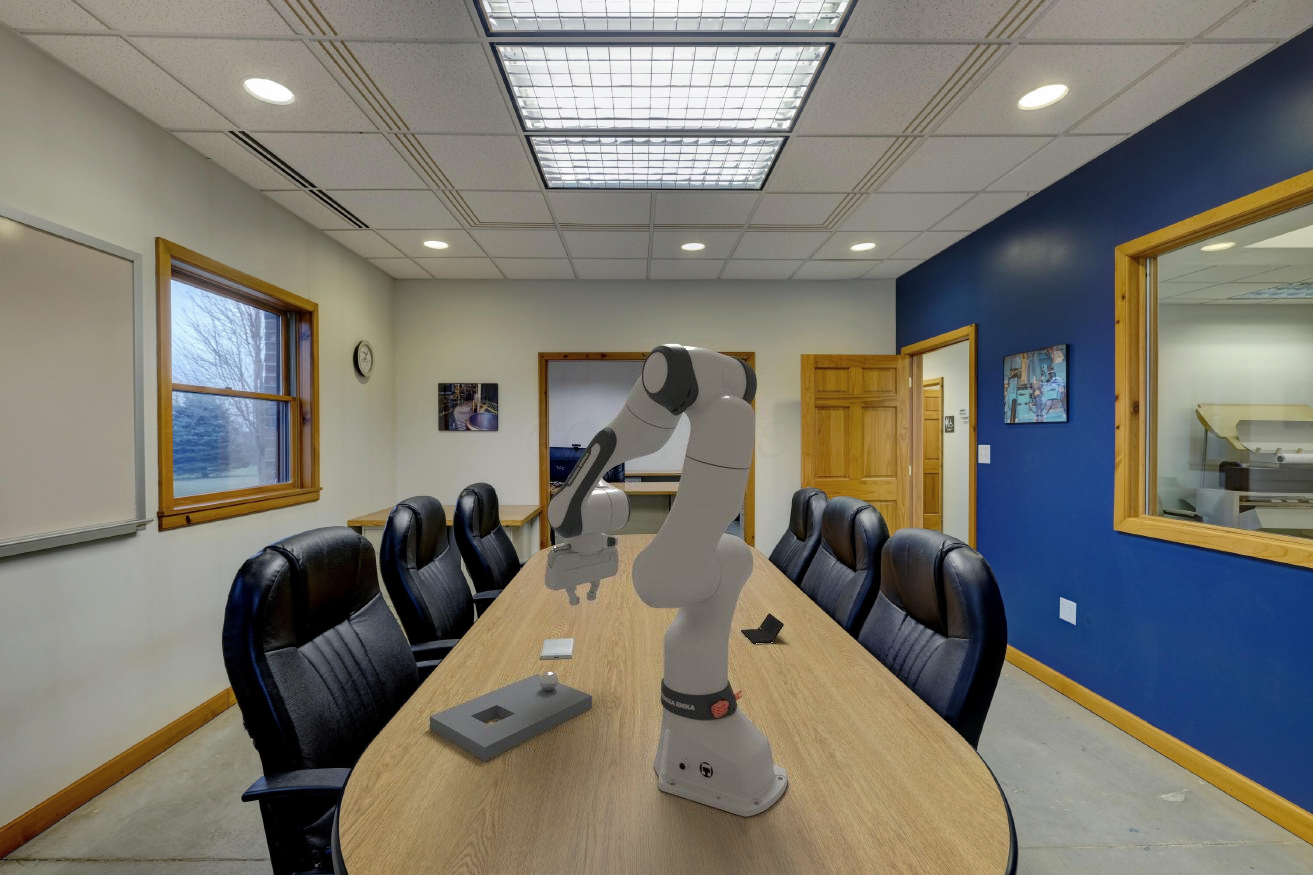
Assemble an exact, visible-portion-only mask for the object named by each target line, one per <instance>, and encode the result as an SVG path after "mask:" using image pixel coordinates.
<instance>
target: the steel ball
mask: <svg viewBox="0 0 1313 875" xmlns="http://www.w3.org/2000/svg"><path fill="white" fill-rule="evenodd" d="M540 676H541V677H540V680H539V683H540V687H541V688H542V689H543V690H545V691H552V690H554V689H555V688H556V687H557V685H558V683H559V677H558V674H557V673H556V672H555V671H553V670H547V671H545V672H543V673H542V674H541V675H540Z"/></svg>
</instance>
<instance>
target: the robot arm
mask: <svg viewBox="0 0 1313 875" xmlns="http://www.w3.org/2000/svg"><path fill="white" fill-rule="evenodd" d="M757 380H758V379H757V375H756V372H755V370H754V368H753V367H752V366H751V365H750V364H749V363H747V362H746V361H744V360H743V359H740V358H738V357H737V356H731V355H730V356H729V355H726V354H723V353H719V352H716V351H713V350H711V349H709V348H703V347H699V346H687V345H681V344H679V343H667V344H665V343H664V344H660V345H657V346H655V347H654V348H652V350H651V351H650V352H649V353H648V355H647V356H646V358H645V360H644V363H643V365H642V370H641V374H640V376H639V377H638V379H637V380H636V382H635V384H634V385H633V386H632V389H631V391H630V392H629V395H628V397H627V399H626V401H625V403H624V405H623V407H622V408H621V410H620V411H619V412H618V414H617V415H616V416H615V417H614V419H612V421H611V422H610V423H608V424H607V425H606V426H605V427H604V428H602V429H601V430H600V431H598V432H596V434H595V435H594V436H593V438H592V439H591V440H590V442H589V443H588V445H587V447H586V448H585V449H584V451H583V452H582V454H581V455H580V458H579V459H578V461H577V462H576V464H575V465H574V467H573V469H572V470H571V472H570V473H569V474H568V476H567V478H566V480H565V482H564V483H563V484H562V485H561V486H560V487H558V489H557V490H556V492H554V494H553V495H552V496H551V498H550V500H549V502H548V505H547V509H546V518H547V523H548V524H549V526H550V527H551V529H553V531H554V532H555V533H557V534H558V535H559V536H561V537H562V538H563V545H555V546H553V547H552V549H551V550H549V552H548V553H547V560H546V564H545V565H546V566H545V575H544V585H545V587H546V588H547V589H548V590H552V591H560V590H561V591H562V590H564V589H565V592H566V594H567V596H568V597H569V602H568V603H569V605H570V606H573V607H574V606H578V605H580V598H581V597H580V596H577V594H576V592H575V591H577V586H580V585H584V584H588V583H589V585H590V587H589V590H588V591H587V592H586V600H587V601H595V600H597V592H598V589H599V588H600V585H601V580H605V579H607V578H613V577H616V576H617V573H618V572H619V565H620V564H619V551H618V548H617V546H618V544H619V538H618V537H617V536H613V535H609V534H607V532H614V531H618V530H622V529H624V528H625V527H626V526H627V524H628V522H629V521H630V519H631V514H632V503H631V500H630V497H629V495H628V494H627V493H626V491H624V489H622V488H619V487H618V488H617V487H616V486H614V485H611V484H610V483H608V482H607V481H606V480H604V479H603V478H604V476H605V475H606V474H607V472H608V471H610V470H611V469H613V468H614V467H616V466H618V465H620V464H623V463H625V462H629V461H632V460H636V459H638V458H639V459H640V458H642V457H646V456H650V455H652V454H654V453H657V452H659V451H660V450H661V449H662V448H663V447H665V446H666V444H667V443H668V441H670V439H671V438H672V435H673V433H675V430H676V427H677V426H678V424H679V422H680V420H681V417H682V415H683V413H685V415H686V416H687V418H688V421H689V425H690V428H689V429H690V430H689V437H688V441H687V445H686V448H685V449H686V450H685V455H684V460H683V465H682V469H681V475H680V479H679V484H678V486H677V487H678V488H677V491H676V495H675V497H674V501H673V503H672V506H671V508H670V510H669V512H668V514H667V516H666V518H665V520H664V522H663V523H662V525H661V527H660V529H659V531H658V532H657V533H656V535H655V536H654V538H653V539H652V540H651V542H650V543H649V544H648V545H647V546H646V547H645V548H643V549H642V550H641V551H640V552H639V553H638V554H637V556H636V557H635V559H634V561H633V565H632V570H631V581H632V585H633V588H634V590H635V593H636V595H637V596H638V598H639V599H640V600H641V602H642V603H643V604H645V605H646V606H648V607H650V608H653V609H678V610H677V613H676V615H675V617H674V619H673V621H672V622H671V623H670V625H669V626H668V627H667V629H666V631H665V633H664V637H663V677H662V678H661V683H660V704H661V705H662V716H661V725H660V726H661V727H660V733H659V734H660V735H659V739H658V745H657V749H656V753H655V757H654V760H653V767H654V770H655V771H654V772H656V773H657V774H656V775H658V782H657V783H658V784H657V785H658V786H657V787H658V789H659V790H660V791H662V792H666V793H669V794H671V795H675V796H678V797H681V798H684V799H686V800H690V801H694V802H697V803H700V804H702V805H706V806H709V807H712V808H716V809H719V810H722V811H726V812H728V813H732V814H734V815H738V816H742V817H751V816H755V815H757V814H761V813H762V812H765V811H766V810H768V809H769V808H770V807H771V806H773V805H774V804H775V803H776V802H777V801H778V800H779V799H780V798H781V797H782V795H783V794H784V793H785V791H786V789H787V787H788V774H787V770H786V769H785V768H783V767H781V766H780V765H777V764H776V763H774V759H773V753H772V748H771V744H770V741H769V739H768V737H766V735H764V734H763V732H762V731H761V730H759V728H758V727H757V726H756V725H755V724H754V723H753V722H752V721H751V720H750V719H749V718H748V716H746V715H745V714H744V712H743V711H742V710H741V709H740V708H739V707H738V700H740V699H741V698H742V695H741V694H742V692H743V691H742V690H740V689H739V691H737V692H735V693H734V691H733V690H734V689H733V688H732V684H731V682H730V680H729V642H730V641H729V640H730V634H731V629H732V628H731V626H732V622H733V618H734V615H735V611H736V608H737V604H738V601H739V598H740V595H741V593H742V590H743V588H744V586H745V585H746V583H747V581H748V580H749V579H750V578H751V575H752V573H753V571H754V557H753V556H754V555H753V553H752V551H751V548H750V547H749V545H748V544H747V543H746V541H745V540H744V539H743V538H742V537H739V536H738V535H734V534H731V533H730V534H729V533H725V532H726V530H727V528H728V527H729V526H730V524H732V522H734V521H735V520H736V519H737V517H738V516H739V514H740V512H741V511H742V507H743V503H744V497H745V494H746V489H747V483H748V481H749V475H750V471H751V465H752V460H753V455H754V449H755V448H754V446H755V438H756V436H755V435H756V413H755V411H754V408H753V407H752V405H751V404H752V402H753V401H754V398H755V397H756V394H757V388H758V381H757Z"/></svg>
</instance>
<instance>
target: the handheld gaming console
mask: <svg viewBox="0 0 1313 875" xmlns="http://www.w3.org/2000/svg"><path fill="white" fill-rule="evenodd" d="M784 626H785V623H783V622H782V621H781V620H780V619H778V618H777V617H775V616H774V615H773V614H772V613H768V614H767V615H766V617H765V618H764V620H762V622H761V624H760V625H759V627H757V628H750V629H749V628H747V629H741V630H740V633H741V632H742V633H743V634H744V635H745V636H746V637H747V638H748V639H749V640H750V641H751V642H752V643H753V644H756V643H771V642H774V641H775V640H776V638H777V636H778V635H779V633H780V632H781V631H782V629H783V627H784ZM742 633H741V634H742ZM743 634H742V635H743ZM744 635H743V636H744ZM745 636H744V637H745ZM746 637H745V638H746ZM747 638H746V639H747ZM748 639H747V640H748ZM749 640H748V641H749ZM750 641H749V642H750ZM751 642H750V643H751ZM752 643H751V644H752ZM753 644H752V645H753Z"/></svg>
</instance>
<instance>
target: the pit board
mask: <svg viewBox="0 0 1313 875" xmlns="http://www.w3.org/2000/svg"><path fill="white" fill-rule="evenodd" d="M540 677H541V675H540V674H537V673H536V674H532V675H530V676H528V677H526V678H523V679H520V680H517V681H515V682H513V683H510V684H508V685H505V686H502V687H500V688H497V689H495V690H493V691H490V692H488V693H485V694H483V695H480V696H478V697H474V698H472V699H470V700H467V701H464V702H463V703H460V704H456V705H455V706H452V707H449V708H447V709H445V710H443V711H440V712H437V713H434V714H432V715H430V716H429V730H430V731H431V732H434V733H435V734H437V735H438V736H440V737H441V738H443V739H445V740H447V741H448V742H450V743H452V744H453V745H455V746H457V747H458V748H461V750H464V751H466V752H467V753H469V754H470V755H472V756H474V757H476V758H477V759H479V760H480V761H482V762H484V763H485V762H488V761H489V760H491V759H494V758H496V757H498V756H500V755H502V754H504V753H505V752H507V751H510V750H512V749H513V748H515V747H518V746H519V745H521V744H523V743H525V742H527V741H530V740H531V739H533V738H535V737H537V736H539V735H541V734H543V733H545V732H547V731H548V730H549V731H550V730H551V729H553V728H555V727H557V726H559V725H561V724H563V723H564V722H566V721H568V720H570V719H571V720H572V718H574V717H576V716H578V715H580V714H583V713H584V712H586V711H589V710H590V709H592V708H593V695H591V694H588V693H586V692H584V691H581V690H579V689H576V688H573V687H571V686H569V685H566V684H563V683H561V682H558V685H557V687H556V688H555V689H554V690H552V691H545V690H543V689H542V688H541V687H540V683H539V680H540ZM496 718H497V719H499V720H498V721H496V722H494V723H492V724H490V725H489V724H487V722H490V721H491V720H494V719H496Z"/></svg>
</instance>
